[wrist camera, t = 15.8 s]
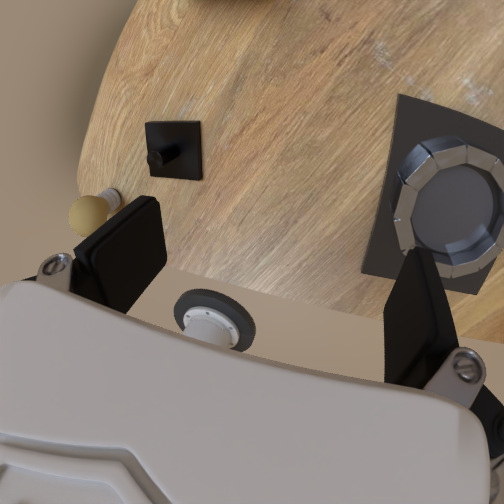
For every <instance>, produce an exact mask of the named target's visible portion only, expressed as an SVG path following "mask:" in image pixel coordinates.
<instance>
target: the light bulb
mask: <svg viewBox="0 0 504 504" xmlns="http://www.w3.org/2000/svg"><path fill="white" fill-rule="evenodd" d="M120 201H121V200H120V196H119V194H118V192H117V191H115V190H114V189H112V188H108V189H106V190H105V191H103V192H102V193H101V194H99V195H97V197H96V196H83V197H80V198H79V199H77V200H76V201H75V202H74V203H73V205H72V206H71V208H70V211H69V216H68V217H69V223H70V225H71V227H72V229H73V230H74V231H75V232H76V233H77V234H78V235H80V236H82V237H88V236H90V235H91V234H92V233H93V232H94V231H96V230H97V229H98V228H99V227H100V226H102V225H103V224H104V223H105V222H106V221H107V216H108V214H110V213H111V212H112V211H114V210H115V209H116V208H118V207H119V205H120Z"/></svg>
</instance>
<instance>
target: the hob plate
mask: <svg viewBox="0 0 504 504" xmlns="http://www.w3.org/2000/svg"><path fill="white" fill-rule="evenodd" d="M457 139H458V140H459V141H460V140H463V141H466V142H468V143H471V144H473V145H476V146H478V147H481V148H483V149H485V150H488V151H489V152H491V153H492V154H494V155H495V156H496V157H497V158H499V159H500V161H501V162H502V164H503V166H504V130H502V129H500V128H498V127H495V126H493V125H491V124H488V123H486V122H484V121H481V120H479V119H476V118H474V117H471V116H469V115H466V114H463V113H461V112H458V111H455V110H452V109H450V108H447V107H444V106H441V105H437V104H434V103H431V102H428V101H424V100H421V99H417V98H414V97H410V96H406V95H402V94H398V96H397V105H396V112H395V119H394V126H393V133H392V139H391V145H390V150H389V156H388V161H387V166H386V171H385V176H384V181H383V186H382V190H381V195H380V199H379V203H378V208H377V212H376V216H375V220H374V224H373V228H372V231H371V235H370V239H369V242H368V246H367V250H366V253H365V257H364V260H363V263H362V267H361V273H363V274H368V275H373V276H378V277H384V278H389V279H394V280H396V279H397V277H398V275H399V272H400V270H401V267H402V265H403V262H404V260H405V257H406V256H405V255H404V254H403V253H402V250H401V249H400V245H399V240H398V236H397V232H396V228H395V224H394V220H393V217H392V213H391V211H392V209H391V206H392V203H393V199H394V195H395V192H396V188H397V184H398V180H399V177H402V175H401V173H402V172H403V171H404V170H405V169H406V168H407V167H408V166H409V165H410V164H411V162H412V161H413V160H414V159H415V158H416V157H417V156H418V155H419V154H420V153H421V152H422V151H423V150H424V149H425V150H426V151H427V147H430V146H433V145H437V144H441V143H445V142H449V141H453V140H457ZM427 152H428V151H427ZM497 211H498V206H497V193H496V185H495V183H494V182H493V180H492V179H491V177H490V176H489V174H488V173H487V172H486V170H484V169H481V168H479V167H476V166H473V165H471V164H468V163H464V164H460V165H456V166H453V167H449V168H445V169H441V170H439V171H438V172H437V173H436V174H435V175H434V176H433V177H432V178H431V179H430V180H429V181H428V182H427V183H426V184H425V185H424V186H423V187H422V188H421V189H420V190H419V192H418V195H417V199H416V202H415V205H414V209H413V212H412V215H411V218H410V220H411V225H412V229H413V234H414V236H415V237H416V238H417V239H418V240H419V241H420V242H421V243H422V244H423V245H424V246H425V247H426V248H427V249H430V250H431V251H435V252H439V253H443V254H447V255H450V254H454V253H458V252H461V251H465V250H468V249H471V248H472V247H474V246H475V245H476V244H477V243H478V242H479V241H480V240H481V239H482V238H484V237H485V236H486V235H487V234H488V233H489V230H490V228H491V226H492V223H493V221H494V218H495V216H496V213H497ZM497 256H498V255H497ZM497 256H496V257H495V258H494V259H493V260H492V261H491V262H489V263H488V264H487V265H486V266H485V267H484V268H482V269H480V268H479V271H477V272H474V273H470V274H467V275H463V276H460V277H456V278H452V277H450V278H445V277H440V278H441V281H442V284H443V287H444V289H446V290H451V291H457V292H462V293H467V294H472V295H477V294H478V292H479V290H480V288H481V287H482V285H483V283H484V281H485V279H486V277H487V275H488V274H489V272H490V270H491V268H492V266H493V264H494V262H495V260H496V258H497Z"/></svg>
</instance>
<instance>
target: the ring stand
mask: <svg viewBox="0 0 504 504" xmlns="http://www.w3.org/2000/svg"><path fill="white" fill-rule="evenodd" d="M145 132H146V142H147V151H148V155H147V162H148V165H149V168H150V176H153V177H166V178H177V179H188V180H198V181H200V180H201V179H202V159H201V137H200V121H153V122H147V123H145Z"/></svg>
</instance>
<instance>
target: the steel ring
mask: <svg viewBox="0 0 504 504" xmlns="http://www.w3.org/2000/svg"><path fill="white" fill-rule="evenodd" d="M427 151H428V152H427ZM427 151H426V150H425V149H424V150H423V151H422V152H421V153H420V154H419V155H418V156H417V157H416V158H415V159H414V160H413V161H412V162H411V164H410V165H409V166H408V167H407V168H406V169H405V170H404V171H403V172H402V173H401V175H402V177H399V180H398V184H397V188H396V192H395V195H394V199H393V203H392V206H391V209H392V211H391V213H392V217H393V220H394V224H395V228H396V232H397V236H398V240H399V245H400V249H401V250H402V253H403V254H404V255H405V256H406V255H407V252H408V250H409V249H413V248H414V247H415V246H418V247H423V248H426V247H425V246H424V245H423V244H422V243H421V242H420V241H419V240H418V239H417V238H416V237H415V236H414V234H413V229H412V225H411V220H410V218H411V215H412V212H413V209H414V205H415V202H416V199H417V195H418V192H419V190H420V189H421V188H422V187H423V186H424V185H425V184H426V183H427V182H428V181H429V180H430V179H431V178H432V177H433V176H434V175H435V174H436V173H437V172H438V171H439V170H441V169H445V168H449V167H453V166H456V165H460V164H464V163H468V164H471V165H473V166H476V167H479V168H481V169H484V170H486V172H487V173H488V174H489V176H490V177H491V179H492V180H493V182H494V183H495V185H496V193H497V206H498V211H497V213H496V216H495V218H494V221H493V223H492V226H491V228H490V230H489V233H488V234H487V235H486V236H485V237H484V238H482V239H481V240H480V241H479V242H478V243H477V244H476V245H475V246H474V247H472V248H471V249H468V250H465V251H461V252H458V253H454V254H450V255H447V254H443V253H439V252H435V251H431V252H432V254H433V257H434V260H435V263H436V266H437V269H438V272H439V275H440V277H445V278H450V277H452V278H456V277H460V276H463V275H467V274H470V273H474V272H477V271H479V268H480V269H482V268H484V267H485V266H486V265H487V264H488V263H489V262H491V261H492V260H493V259H494V258H495V257H496V256H497V255H498V254H500V253H501V252H502V249H501V248H504V166H503V164H502V162H501V161H500V159H499V158H497V157H496V156H495V155H494V154H492V153H491V152H489V151H488V150H485V149H483V148H481V147H478V146H476V145H473V144H471V143H468V142H466V141H463V140H460V141H459V140H458V139H457V140H453V141H449V142H445V143H441V144H437V145H433V146H430V147H427Z"/></svg>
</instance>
